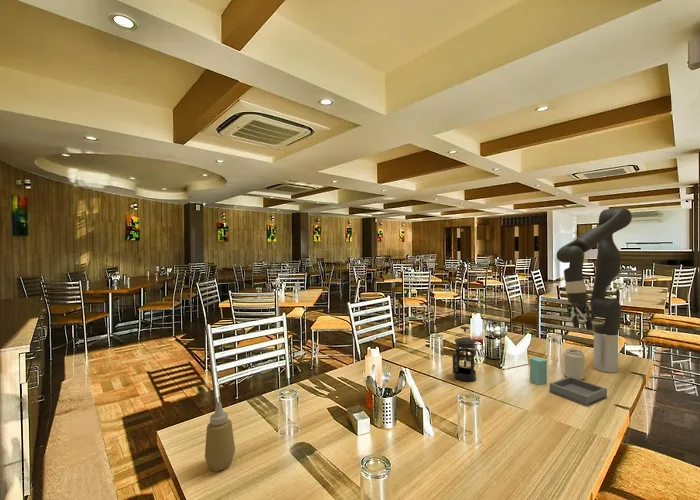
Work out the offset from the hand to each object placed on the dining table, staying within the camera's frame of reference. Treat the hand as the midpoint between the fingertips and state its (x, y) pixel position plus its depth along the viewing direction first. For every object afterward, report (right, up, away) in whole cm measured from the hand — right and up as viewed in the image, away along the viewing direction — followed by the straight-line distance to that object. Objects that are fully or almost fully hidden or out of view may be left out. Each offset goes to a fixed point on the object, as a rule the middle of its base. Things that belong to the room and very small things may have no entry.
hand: (583, 328), depth 151 cm
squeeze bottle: (-138, -27, -53) cm, 150 cm away
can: (-2, -22, +2) cm, 23 cm away
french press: (-51, -23, +3) cm, 56 cm away
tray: (-12, -23, -14) cm, 29 cm away
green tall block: (-21, -23, -2) cm, 31 cm away
